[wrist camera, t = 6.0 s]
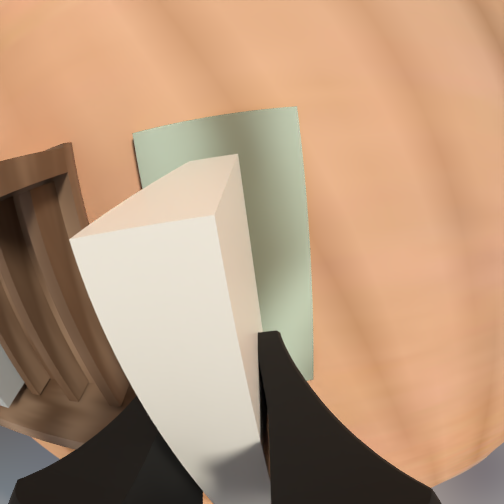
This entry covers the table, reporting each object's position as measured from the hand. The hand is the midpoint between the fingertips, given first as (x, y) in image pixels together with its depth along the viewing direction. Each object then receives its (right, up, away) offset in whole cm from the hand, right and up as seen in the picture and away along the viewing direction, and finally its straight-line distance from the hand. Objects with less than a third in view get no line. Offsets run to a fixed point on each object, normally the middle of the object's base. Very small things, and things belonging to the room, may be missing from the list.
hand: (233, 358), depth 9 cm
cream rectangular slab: (0, +1, +4) cm, 4 cm away
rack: (-9, +1, +6) cm, 10 cm away
